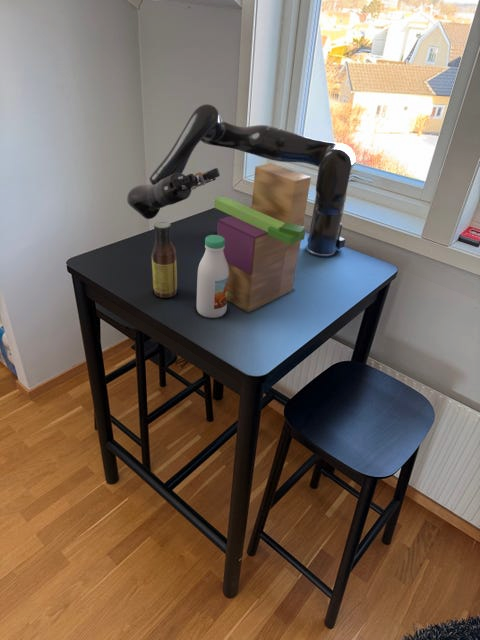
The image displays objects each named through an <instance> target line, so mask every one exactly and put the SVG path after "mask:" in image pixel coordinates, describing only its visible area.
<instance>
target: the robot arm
mask: <svg viewBox="0 0 480 640" xmlns="http://www.w3.org/2000/svg"><path fill="white" fill-rule="evenodd" d="M200 142H202V143H203V144H206V145H209V146H210V145H211V146H213V147H214V146H216V147H222V148H228V149H233V150H236V151H240V152H243V153H246V154H250V155H254V156H257V157H260V158H263V159H267V160H271V161H273V162H280V163H295V164H296V163H299V164H300V163H301V164H308V165H311V166H314V167H318V169H317V178H316V184H315V198H314V202H313V203H314V204H313V208H312V216H311V221H310V225H309V226H310V227H309V232H308V237H307V241H306V242H307V244H306V247H305V249H306V251H307V252H308V253H309V254H311V255H313V256H315V257H322V258H327V257H332V256H334V255H335V254H336V252H337V251H338V250H340V249H342V248H344V247H345V244H346V239H345V238H343V237H342V236H341V235H342V229H343V224H342V221H343V215H344V209H345V205H346V200H347V196H348V195H347V191H348V186H349V182H350V177H351V172H352V169H353V168H354V166H355V163H356V155H355V152H354V151H353V149H352V148H351V147H350V146H348V145H347V144H344V143H340V142H333V141H332V142H331V141H326V140H319V139H314V138H312V137H307V136H305V135H302V134H298V133H294V132H293V131H288V130H285V129H282V128H278V127H274V126H271V125H267V124H257V125H251V126H239V125H235V124H232V123H229V122H226V121H224V120H223V119H222V116H221V114H220V112H219V110H218V109H217V108H216V106H214V105H212V104H210V103H209V104H208V103H205V104H202V105H200V106H198V107H197V108H196V109H195V110H194V111H193V113H191V116H190V117H189V119H188V121H187V122H186V124H185V126H184V128H183V129H182V131H181V133H180V135H179V136H178V137H177V139H176V141H175V143H174V144H173V146H172V147H171V148H170V150H169V152H168V153H167V154H166V156H165V157H164V158H163V160H162V161H161V162H160V163H159V164H158V166H157V167H156V168H155V170H154V171H152V173H151V174H150V176H149V178H148V180H149V183H150V184H139V185H136V186H134V187H132V188H131V189H130V190H129V191H128V193H127V195H126V202H127V204H128V205H129V207H131V208H132V209H133V210H134V211H135V212H137V213H138V214H139V215H140V216H142V217H143V218H144V219H146V220H152V219H154V218H155V217H156V216H158V214H159V212H160V210H161V209H162V208H165V207H168V206H171V205H172V206H173V205H175V204H177V203H180V202H182V201H185V200H187V199H188V198H189V197H190V196H191V194H192V191H193V190H196V189H197V188H198V187H202V186H205V185H206V184H208V183H211V182H214V181H216V180H217V178H219V177H220V171H219V168H218V167H216V168H213V169H209V170H206V171H205V172H200V171H199V172H196V173H189V174H187V175H185V174H184V171H185V169H186V166H187V164H188V162H189V160H190V157H191V156H192V153H193V151H194V150H195V148H196V147H197V145H198V144H199V143H200ZM197 176H198V177H197Z"/></svg>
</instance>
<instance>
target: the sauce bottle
mask: <svg viewBox="0 0 480 640" xmlns="http://www.w3.org/2000/svg"><path fill="white" fill-rule="evenodd" d="M153 230H154V235H155V238H154V244H153V247H152V250H151V271H152V273H151V274H152V288H153V292H154V294H155V296H156V297H159V298H162V299H169V298H172V297H174V296H176V294H177V291H178V290H177V289H178V274H177V273H178V269H177V268H178V267H177V254H176V253H177V251H176V247H175V244H174V243H173V242H172V236H171V234H172V233H171V231H172V224H171V222H169V221H166V220H161V221H156V222H154V224H153Z"/></svg>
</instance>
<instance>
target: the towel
mask: <svg viewBox="0 0 480 640" xmlns="http://www.w3.org/2000/svg"><path fill="white" fill-rule="evenodd" d="M216 227H217V228H216V235H219V236H222V237H223V238H224V239H225V245H224V249H223V252H224V256H225V258H226V261H227V263H229V264H231V265H233V266H235V267H237V268H238V269H240V270H242V271H244V272H246V273H248V274H249V275H251V272H252V262H253V252H254V242H255V238H257V237H260V236H263V235H266V234H267V233H268V232H266V231H264V230H262V229H260V228H257V227H255V226H253V225H251V224H249V223H247V222H244V221H242V220H240V219H238V218H236V217H233V216H231V215H229V216H225V217H222V218H219V219H217V226H216Z"/></svg>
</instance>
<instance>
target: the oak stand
mask: <svg viewBox="0 0 480 640" xmlns="http://www.w3.org/2000/svg"><path fill="white" fill-rule="evenodd" d="M311 179H312V176H310V175H306V174H303V173H300V172H298V171H296V170H292V169H289V168H286V167H283V166H281V165H278V164H275V163H272V162H270V163H265V164H261V165H257V166H255V167H254V177H253V187H252V197H251V207H250V208H252V209H254V210H256V211H258V212H261V213H263V214H265V215H268V216H270V217H272V218H275V219H277V220H279V221H281V222H284V223H286V222H288V223H292V224H296V225H299V226H303V227H304V223H305V216H306V210H307V204H308V199H309V192H310V187H311ZM300 248H301V241H298V242H296V243H293V244H291V245H289V244H287V243H285V242H283V241H281V240H278V239H276V238H274V237H272V236H270V235H268V234H266V235H263V236H260V237H257V238H255V242H254V252H253V262H252V272H251V275H249V274H248V273H246V272H244V271H242V270H240V269H238V268H237V267H235V266H233V265H231V264H229V263H228V267H229V284H228V298H227V302H230V303H231V304H233V305H235V306H236V307H238V308H240V309H241V310H242V311H245V312H246V313H250V312H251V313H252V312H253V311H255V310H257V309H259V308H260V307H262V306H264V305H266V304H268V303H270V302H273V301H274V300H276V299H278V298H281V297H283V296H284V295H286V294H289V293H290V292H292V291H293V289H294V283H295V278H296V272H297V265H298V260H299V259H298V258H299V254H300V253H299V252H300Z"/></svg>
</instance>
